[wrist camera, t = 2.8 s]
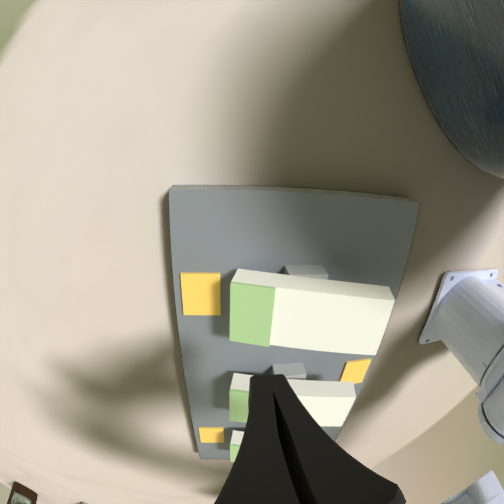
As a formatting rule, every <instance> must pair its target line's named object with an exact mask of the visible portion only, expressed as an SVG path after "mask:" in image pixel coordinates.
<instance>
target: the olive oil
mask: <svg viewBox="0 0 504 504" xmlns="http://www.w3.org/2000/svg"><path fill="white" fill-rule="evenodd" d="M37 496H38V495H37V494H36V493H35V492H33V491H32V490H30V489H29V488H27V487H25V486H23V485H21V484H19V483H17V482H14V484H13V487H12V490H11V493H10V497H9V499H8V502H7V504H36V501H37Z"/></svg>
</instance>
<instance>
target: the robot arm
mask: <svg viewBox="0 0 504 504" xmlns="http://www.w3.org/2000/svg"><path fill="white" fill-rule="evenodd" d="M497 275H498V270H496V269H486V270H471V271H454V272H446V273H445V274H444V276H443V278H442V281H441V284H440V287H439V290H438V293H437V296H436V299H435V301H434V304H433V307H432V309H431V312H430V315H429V317H428V320H427V322H426V325H425V327H424V329H423V332H422V334H421V336H420V339H419V343H420V344H427V343H431V342H435V341H439V340H441V341H442V342H443V343H444V344H445V345H446V346H447V348H448V349H449V350H450V351H451V352H452V353H453V355H454V356H455V357H456V358H457V359H458V361H459V362H460V363H461V364H462V366H463V367H464V368H465V369H466V370H467V372H468V373H469V374H470V375H471V377H472V378H473V379H474V380H475V382H476V383H477V384H478V386H479V387H480V388H479V390H478V391H477V392H476V395H477V397H478V398H479V399H480V402H479V404H478V417H479V422H480V425H481V427H482V429H483V431H484V432H485V434H486V435H487V436H488V437H489V438H490V439H491V440H493V441H494V442H496V443H498V444H501V445H503V446H504V285H503V284H502V283H500V282H499V281H498V280H496V278H497ZM248 411H249V413H248V418H247V423H246V427H245V431H244V435H243V438H242V442H241V445H240V448H239V451H238V453H237V456H236V459H235V461H234V464H233V466H232V469H231V471H230V474H229V476H228V478H227V480H226V482H225V484H224V486H223V488H222V490H221V492H220V494H219V496H218V498H217V500H216V501H215V503H214V504H405V503H406V500H405V498H404V495H403V494H402V491H401V490H400V488H399V487H398V485H397V484H395V483H393V482H391V481H389V480H387V479H385V478H384V477H382V476H380V475H378V474H376V473H375V472H373V471H372V470H370V469H369V468H367V467H365V466H364V465H363V464H361V463H360V462H359V461H357V460H356V459H355V458H353V457H352V456H351V455H349V454H348V453H347V452H346V451H345V450H343V449H342V448H341V447H340V446H339V445H338V444H337V443H336V442H335V441H334V440H333V439H331V438H330V436H329V435H328V434H327V433H326V432H325V431H324V430H323V429H322V428H321V427H320V426H319V424H318V423H317V422H316V421H315V420H314V418H313V417H312V416H311V415H310V413H309V412H308V411H307V409H306V408H305V407H304V405H303V404H302V403H301V401H300V400H299V398H298V397H297V395H296V394H295V392H294V391H293V389H292V387H291V386H290V384H289V382H288V381H287V379H286V377H285V375H283V374H274V375H256V376H252V377H250V384H249V397H248ZM441 504H504V491H503V489H502V487H501V485H500V483H499V481H498V480H497V478H496V476H495V474H494V473H493V471H492V470H490V471H488V472H487V473H486V474H485V475H483V476H482V477H480V478H479V479H477V480H476V481H475V482H473V483H472V484H471V485H469V486H468V487H467V488H466V489H464V490H463V491H461V492H460V493H458V494H456V495H455V496H453V497H452V498H450V499H448V500H446V501H445V502H443V503H441Z"/></svg>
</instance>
